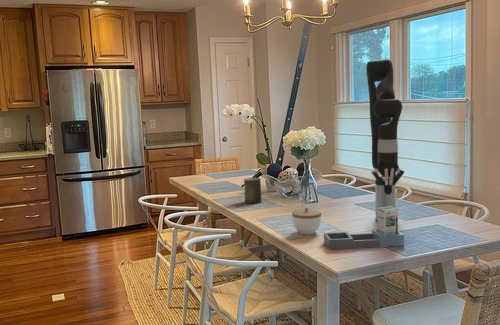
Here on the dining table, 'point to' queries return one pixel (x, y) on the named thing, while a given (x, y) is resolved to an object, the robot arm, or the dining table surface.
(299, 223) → the lidded bowl
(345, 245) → the frame
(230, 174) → the dining table surface
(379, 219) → the syrup box
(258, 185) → the pillar candle
